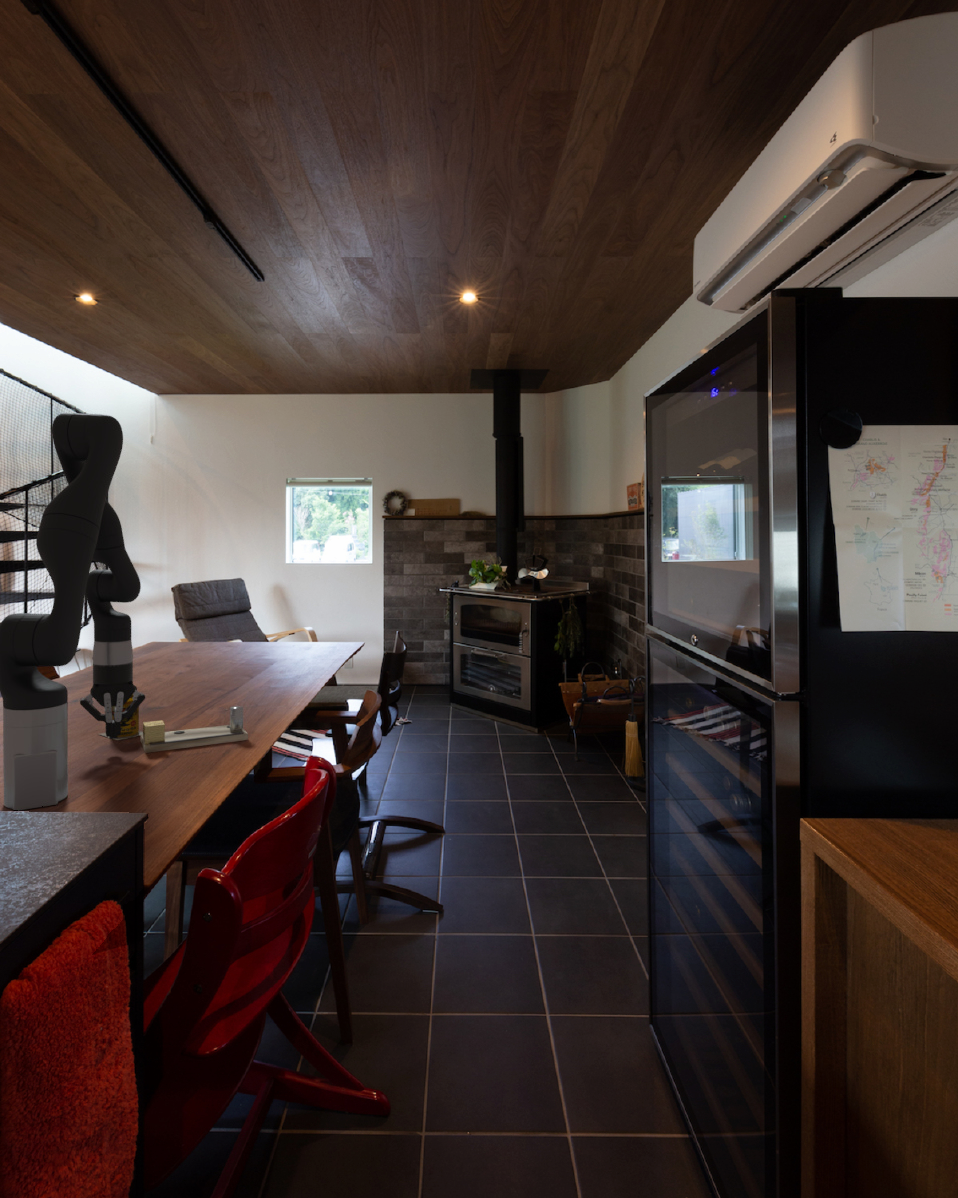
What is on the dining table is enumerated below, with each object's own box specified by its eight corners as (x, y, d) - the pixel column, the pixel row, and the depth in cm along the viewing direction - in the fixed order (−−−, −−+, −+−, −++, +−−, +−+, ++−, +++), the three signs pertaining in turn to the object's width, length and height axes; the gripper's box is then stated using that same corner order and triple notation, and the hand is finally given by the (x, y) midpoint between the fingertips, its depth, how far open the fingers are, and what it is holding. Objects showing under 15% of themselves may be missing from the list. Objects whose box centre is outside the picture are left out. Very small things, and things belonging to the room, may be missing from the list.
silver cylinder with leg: (244, 732, 148) (244, 708, 148) (231, 734, 147) (231, 709, 146) (237, 726, 154) (238, 702, 153) (225, 727, 152) (225, 703, 152)
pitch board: (247, 739, 147) (247, 732, 147) (145, 752, 135) (145, 745, 135) (238, 729, 156) (238, 722, 156) (140, 741, 143) (140, 733, 143)
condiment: (118, 741, 143) (118, 690, 142) (97, 735, 147) (98, 686, 146) (147, 734, 149) (148, 686, 149) (127, 728, 153) (128, 681, 153)
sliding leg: (164, 741, 138) (164, 724, 138) (144, 744, 136) (144, 726, 136) (160, 734, 144) (160, 717, 144) (141, 736, 142) (141, 719, 141)
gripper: (77, 665, 126) (78, 747, 127) (149, 661, 134) (149, 738, 135) (76, 659, 132) (77, 737, 134) (145, 656, 140) (145, 729, 141)
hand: (113, 737), depth 134 cm, fingers closed
